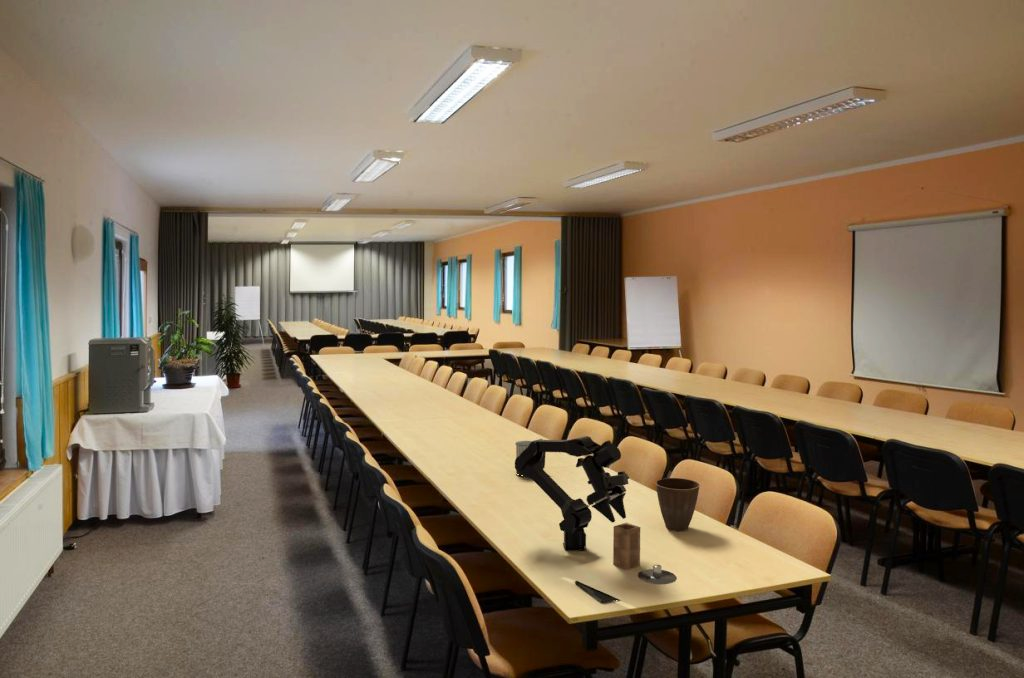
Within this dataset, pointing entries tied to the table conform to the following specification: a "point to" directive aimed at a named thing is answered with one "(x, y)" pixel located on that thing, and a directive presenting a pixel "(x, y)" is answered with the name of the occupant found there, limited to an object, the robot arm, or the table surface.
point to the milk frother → (522, 446)
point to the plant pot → (677, 501)
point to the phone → (596, 593)
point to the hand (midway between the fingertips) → (619, 520)
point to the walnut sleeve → (626, 546)
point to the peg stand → (657, 575)
